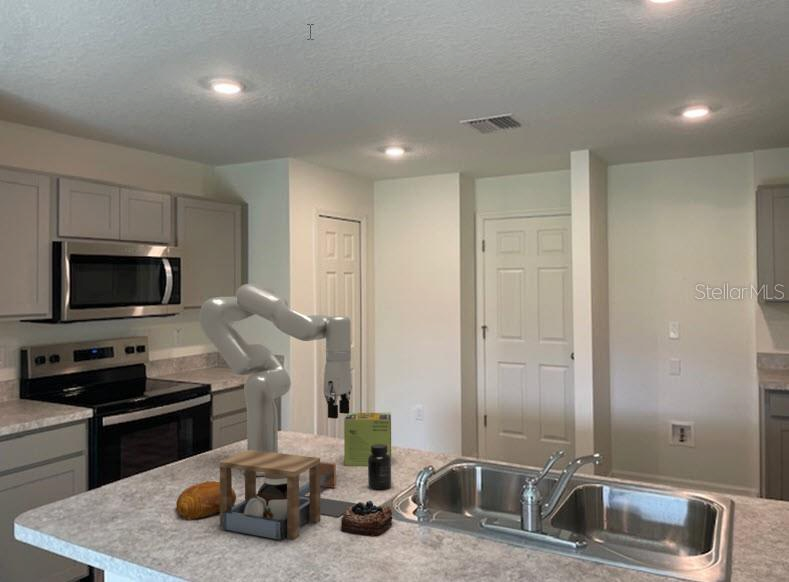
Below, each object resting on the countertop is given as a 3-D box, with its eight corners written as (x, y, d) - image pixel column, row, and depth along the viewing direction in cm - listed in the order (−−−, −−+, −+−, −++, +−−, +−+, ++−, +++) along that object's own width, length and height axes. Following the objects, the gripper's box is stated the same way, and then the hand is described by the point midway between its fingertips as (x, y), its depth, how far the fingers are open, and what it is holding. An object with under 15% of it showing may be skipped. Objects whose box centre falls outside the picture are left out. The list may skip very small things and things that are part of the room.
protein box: (390, 466, 195) (390, 418, 195) (344, 466, 195) (343, 418, 195) (391, 457, 205) (391, 412, 205) (347, 457, 205) (346, 412, 205)
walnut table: (220, 525, 146) (219, 461, 146) (249, 508, 157) (249, 449, 157) (294, 539, 138) (294, 471, 138) (320, 520, 149) (320, 458, 149)
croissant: (243, 516, 158) (247, 485, 159) (189, 525, 147) (194, 492, 147) (215, 501, 168) (219, 472, 169) (162, 508, 157) (167, 478, 157)
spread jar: (303, 519, 150) (303, 473, 150) (277, 536, 140) (276, 486, 140) (265, 511, 155) (264, 467, 155) (236, 527, 145) (236, 480, 145)
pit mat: (253, 503, 161) (253, 502, 161) (274, 492, 170) (274, 490, 170) (338, 517, 151) (338, 516, 151) (356, 504, 160) (356, 503, 160)
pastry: (381, 539, 138) (381, 514, 138) (334, 532, 142) (334, 508, 142) (396, 521, 149) (396, 498, 149) (352, 515, 153) (352, 493, 153)
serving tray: (222, 528, 143) (222, 501, 143) (304, 481, 178) (304, 459, 178) (280, 539, 137) (280, 511, 137) (353, 488, 171) (353, 465, 171)
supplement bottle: (392, 483, 177) (392, 443, 177) (390, 491, 171) (389, 449, 171) (369, 482, 178) (369, 442, 178) (366, 490, 171) (366, 448, 171)
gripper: (340, 353, 190) (341, 409, 190) (313, 359, 174) (313, 420, 174) (362, 354, 187) (362, 411, 187) (335, 360, 171) (336, 422, 171)
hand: (338, 415), depth 181 cm, fingers open, 6 cm apart
